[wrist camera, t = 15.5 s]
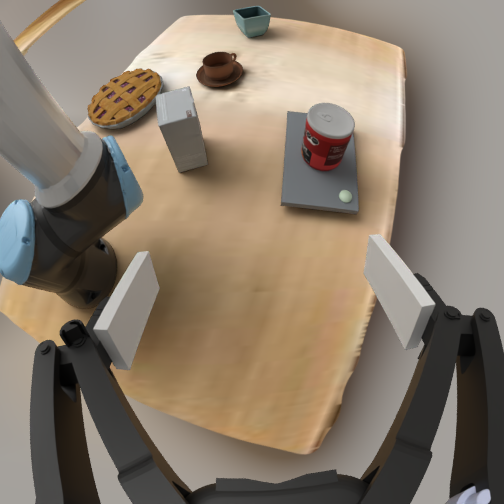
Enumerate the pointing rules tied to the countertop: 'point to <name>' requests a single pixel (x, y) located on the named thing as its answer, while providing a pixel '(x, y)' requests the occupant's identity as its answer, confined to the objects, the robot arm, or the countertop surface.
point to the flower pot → (252, 20)
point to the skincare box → (181, 128)
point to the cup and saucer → (219, 69)
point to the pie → (125, 99)
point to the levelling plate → (317, 175)
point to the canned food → (326, 136)
